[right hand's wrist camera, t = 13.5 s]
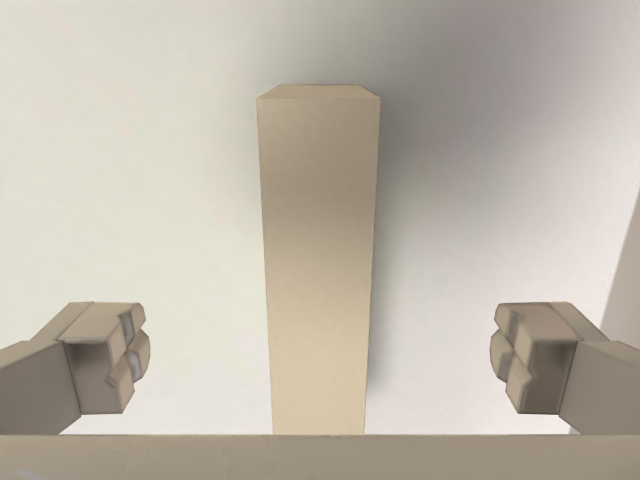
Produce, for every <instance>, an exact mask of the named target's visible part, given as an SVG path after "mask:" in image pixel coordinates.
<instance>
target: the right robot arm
mask: <svg viewBox="0 0 640 480" xmlns="http://www.w3.org/2000/svg"><path fill="white" fill-rule="evenodd" d="M145 321H146V318H145V313H144V308H143V306H142V305H141V304H140V303H120V302H72V303H69V304H68V305H67V306H66V307H65V308H64V309H62V310H61V311H60V312H59V313H58V314H57V315H56V316H55V317H54V318H53V319H52V320H51V321H50V322H49V323H48V324H47V325H46V326H44V327H43V328H42V329H41V330H40V331H39V332H38V333H37V334H36V335H35V336H34V337H33V338H32V339H31V340H30V341H20V342H18V343H16V344H13V345H11V346H8V347H6V348H4V349H1V350H0V480H640V350H639V349H636V348H634V347H632V346H629V345H627V344H624V343H622V342H620V341H610V340H609V339H608V338H607V337H606V336H605V335H604V334H603V333H602V332H601V331H600V330H599V329H598V328H597V327H596V326H595V325H594V324H592V323H591V322H590V321H589V320H588V319H587V318H586V317H585V316H584V315H583V314H582V313H581V312H580V311H579V310H578V309H577V308H576V307H574V306H573V305H572V304H571V303H568V302H529V303H501V304H499V305H498V307H497V309H496V312H495V318H494V321H495V322H496V324H497V325H498V327H499V329H498V330H497V331H496V332H495V333H494V334H493V335H492V337H491V343H490V360H491V364H492V367H493V370H494V372H495V374H496V376H497V378H499V379H500V380H502V381H503V382H505V383H507V385H506V391H505V392H506V394H507V395H508V397H509V399H510V401H511V402H512V404H513V406H514V408H515V409H516V411H517V413H518V414H549V415H559V417H560V418H561V419H563V420H564V421H565V422H567V423H568V424H569V425H571V426H572V427H573V428H574V429H576V430H577V431H578V432H580V433H581V434H577V435H575V434H572V435H571V434H555V435H58V434H59V433H60V432H62V431H63V430H64V429H66V428H67V427H68V426H70V425H71V424H72V423H74V422H75V421H76V420H78V419H79V418H80V417H81V415H91V414H122V413H123V411H124V409H125V408H126V406H127V404H128V402H129V401H130V399H131V397H132V395H133V394H134V392H135V391H134V385H133V383H135V382H137V381H138V380H140V379H141V378H143V376H144V374H145V372H146V370H147V368H148V363H149V359H150V342H149V337H148V336H147V334H146V333H145V332H144V331H143V330H142V329H141V327H142V325H143V324H144V322H145Z"/></svg>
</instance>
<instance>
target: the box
mask: <svg viewBox="0 0 640 480" xmlns="http://www.w3.org/2000/svg"><path fill="white" fill-rule="evenodd" d="M256 101H257V121H258V141H259V161H260V181H261V201H262V221H263V241H264V261H265V281H266V301H267V321H268V341H269V361H270V381H271V401H272V421H273V435H364V427H365V407H366V387H367V367H368V348H369V328H370V308H371V288H372V268H373V248H374V229H375V209H376V189H377V169H378V149H379V129H380V109H381V98H379V97H378V96H376V95H374V94H373V93H371V92H369V91H368V90H366V89H364V88H363V87H361V86H359V85H279V86H277V87H275V88H274V89H272V90H270V91H268V92H267V93H265V94H263V95H261V96H260V97H258V98H257V99H256Z"/></svg>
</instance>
